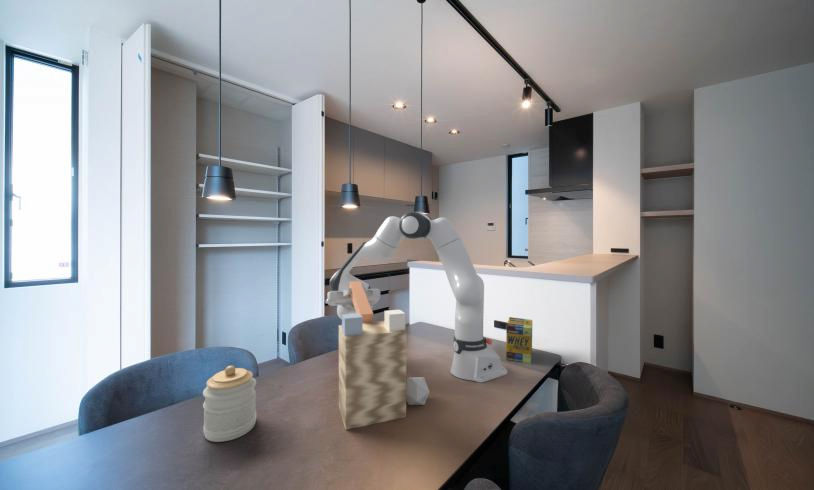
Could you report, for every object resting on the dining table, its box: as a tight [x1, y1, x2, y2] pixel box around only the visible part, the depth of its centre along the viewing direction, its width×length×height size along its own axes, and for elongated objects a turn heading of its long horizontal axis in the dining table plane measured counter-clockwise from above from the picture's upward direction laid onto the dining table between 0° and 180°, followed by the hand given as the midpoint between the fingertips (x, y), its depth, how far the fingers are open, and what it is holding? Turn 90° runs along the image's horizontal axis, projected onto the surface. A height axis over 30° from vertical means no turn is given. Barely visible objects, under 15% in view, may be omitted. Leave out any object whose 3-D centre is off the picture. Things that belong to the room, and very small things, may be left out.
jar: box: [202, 365, 257, 443], centre depth 88 cm, size 13×13×18 cm
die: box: [406, 376, 430, 406], centre depth 102 cm, size 8×9×10 cm
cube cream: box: [383, 309, 406, 332], centre depth 96 cm, size 5×5×5 cm
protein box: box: [505, 316, 533, 365], centre depth 142 cm, size 10×15×16 cm
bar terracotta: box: [349, 281, 374, 323], centre depth 111 cm, size 4×21×4 cm, turn 21°
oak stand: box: [338, 320, 407, 431], centre depth 96 cm, size 18×12×26 cm
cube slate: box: [341, 313, 363, 336], centre depth 91 cm, size 5×5×5 cm
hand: (357, 289), depth 115 cm, fingers closed on bar terracotta, 4 cm apart
